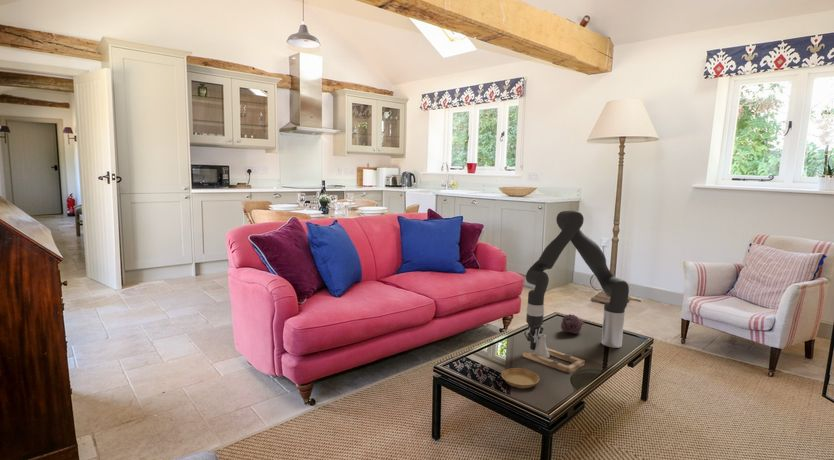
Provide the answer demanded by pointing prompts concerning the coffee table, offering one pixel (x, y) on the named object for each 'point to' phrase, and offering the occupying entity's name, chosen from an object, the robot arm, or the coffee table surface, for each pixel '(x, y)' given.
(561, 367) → the beam channel
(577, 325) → the pine cone
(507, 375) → the plant saucer
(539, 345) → the flask
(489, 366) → the coffee table surface
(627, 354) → the coffee table surface
